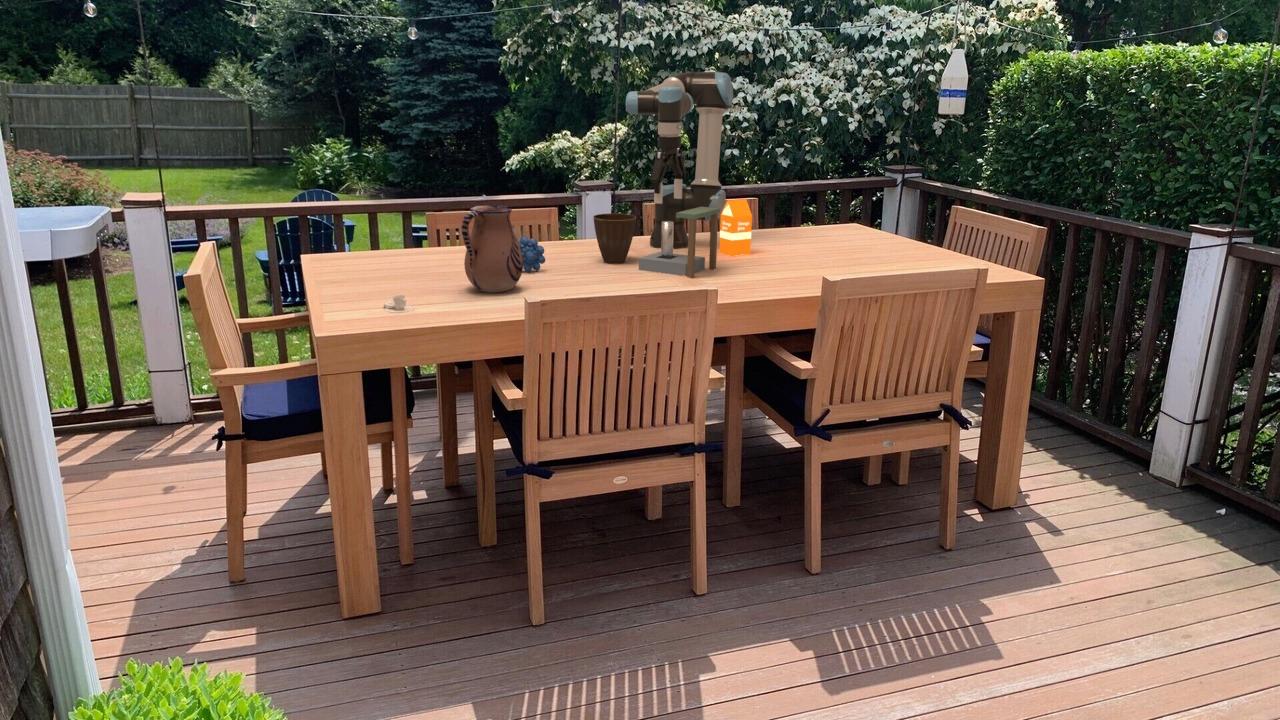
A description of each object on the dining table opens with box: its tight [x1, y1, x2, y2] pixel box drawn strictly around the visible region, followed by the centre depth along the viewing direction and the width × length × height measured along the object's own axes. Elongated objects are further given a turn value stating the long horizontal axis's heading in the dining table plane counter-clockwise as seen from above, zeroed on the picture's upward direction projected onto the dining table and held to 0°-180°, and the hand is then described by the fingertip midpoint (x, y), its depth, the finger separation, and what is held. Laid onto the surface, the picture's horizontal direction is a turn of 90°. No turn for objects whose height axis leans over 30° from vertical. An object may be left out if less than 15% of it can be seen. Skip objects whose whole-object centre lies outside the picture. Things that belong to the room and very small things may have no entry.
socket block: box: [638, 251, 706, 277], centre depth 313 cm, size 18×14×4 cm
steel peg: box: [660, 221, 674, 259], centre depth 313 cm, size 4×4×16 cm
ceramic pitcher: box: [461, 204, 524, 294], centre depth 276 cm, size 18×21×25 cm
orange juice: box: [718, 198, 753, 257], centre depth 340 cm, size 8×9×20 cm
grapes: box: [518, 235, 547, 273], centre depth 305 cm, size 12×7×12 cm, turn 110°
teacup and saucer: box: [383, 294, 415, 314], centre depth 257 cm, size 9×8×4 cm
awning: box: [676, 207, 720, 279], centre depth 306 cm, size 7×18×21 cm, turn 149°
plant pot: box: [592, 213, 637, 265], centre depth 323 cm, size 15×15×16 cm
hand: (668, 200), depth 308 cm, fingers open, 13 cm apart
